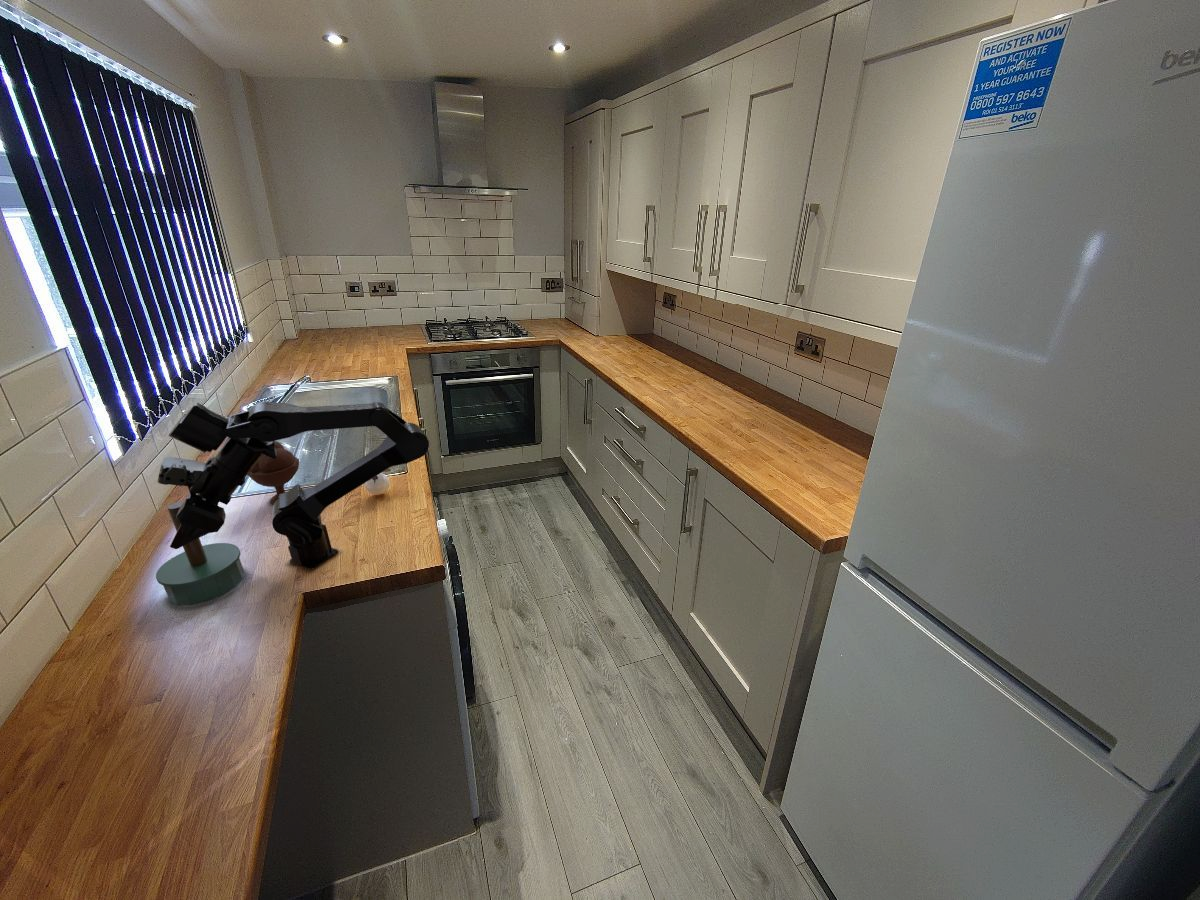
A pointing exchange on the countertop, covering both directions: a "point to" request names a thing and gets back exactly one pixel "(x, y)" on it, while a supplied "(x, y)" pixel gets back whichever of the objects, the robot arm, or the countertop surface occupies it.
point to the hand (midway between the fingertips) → (177, 535)
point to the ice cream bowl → (275, 470)
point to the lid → (195, 559)
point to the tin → (207, 587)
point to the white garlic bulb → (378, 484)
